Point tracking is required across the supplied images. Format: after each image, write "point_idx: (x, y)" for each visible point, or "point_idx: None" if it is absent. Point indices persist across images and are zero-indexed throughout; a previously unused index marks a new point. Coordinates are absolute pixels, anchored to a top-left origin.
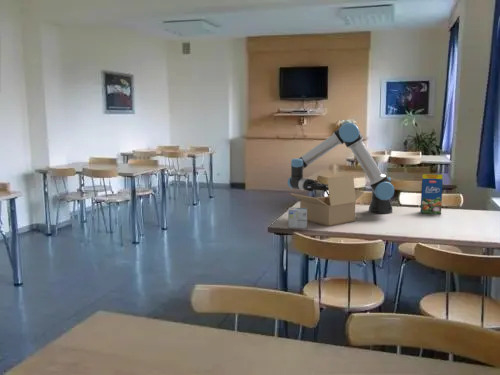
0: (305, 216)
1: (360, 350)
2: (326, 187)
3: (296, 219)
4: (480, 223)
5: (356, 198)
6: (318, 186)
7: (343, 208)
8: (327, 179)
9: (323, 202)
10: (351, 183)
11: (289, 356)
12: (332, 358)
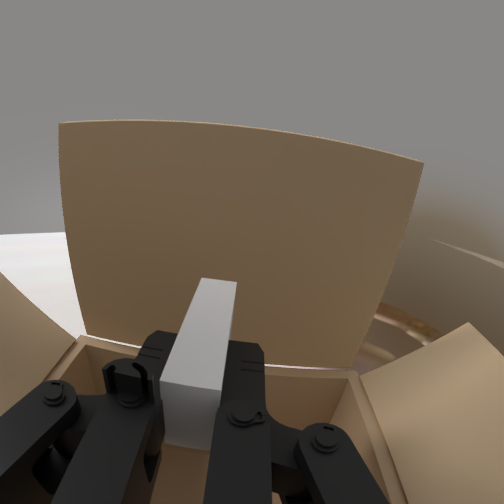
0: None
1: (459, 250)
2: (264, 373)
3: None
4: (15, 241)
5: (49, 319)
6: (378, 499)
7: None
8: (419, 177)
9: (409, 355)
10: (94, 199)
11: (489, 259)
12: (472, 253)
